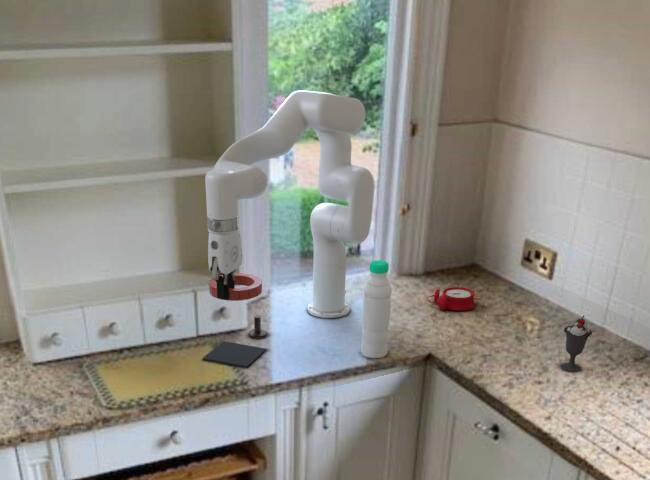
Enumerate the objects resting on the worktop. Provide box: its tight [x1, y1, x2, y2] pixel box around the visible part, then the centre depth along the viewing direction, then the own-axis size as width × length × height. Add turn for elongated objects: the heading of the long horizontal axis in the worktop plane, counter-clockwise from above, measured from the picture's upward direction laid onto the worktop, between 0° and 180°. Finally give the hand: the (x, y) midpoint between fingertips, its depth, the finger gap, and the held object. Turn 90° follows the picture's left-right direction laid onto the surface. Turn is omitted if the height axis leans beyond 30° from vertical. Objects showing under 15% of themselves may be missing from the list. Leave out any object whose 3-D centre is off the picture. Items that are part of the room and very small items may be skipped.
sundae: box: [560, 314, 593, 373], centre depth 200 cm, size 7×7×15 cm
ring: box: [208, 272, 263, 302], centre depth 205 cm, size 13×13×3 cm
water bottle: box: [360, 259, 393, 359], centre depth 206 cm, size 7×7×25 cm
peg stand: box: [248, 314, 267, 339], centre depth 223 cm, size 5×5×6 cm
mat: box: [202, 341, 267, 369], centre depth 213 cm, size 12×13×1 cm
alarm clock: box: [426, 286, 482, 312], centre depth 240 cm, size 10×6×15 cm
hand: (226, 296), depth 201 cm, fingers closed on ring, 2 cm apart
